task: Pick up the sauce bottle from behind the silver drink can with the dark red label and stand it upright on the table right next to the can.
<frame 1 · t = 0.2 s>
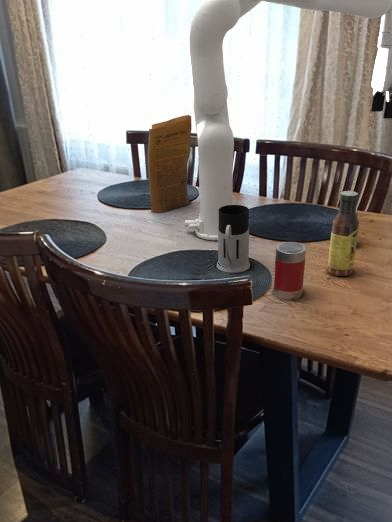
hand: (382, 114, 141), 31 cm above the table, tool pointing down, fingers open, 9 cm apart
sauce bottle: (339, 272, 134), on the table
can: (287, 293, 125), on the table
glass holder: (231, 270, 137), on the table
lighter: (347, 243, 149), on the table
pancake mix bag: (172, 207, 179), on the table
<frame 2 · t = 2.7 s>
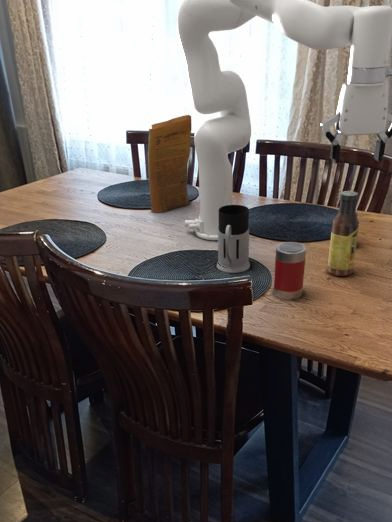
hand: (356, 161, 120), 27 cm above the table, tool pointing down, fingers open, 9 cm apart
nothing on the table moved.
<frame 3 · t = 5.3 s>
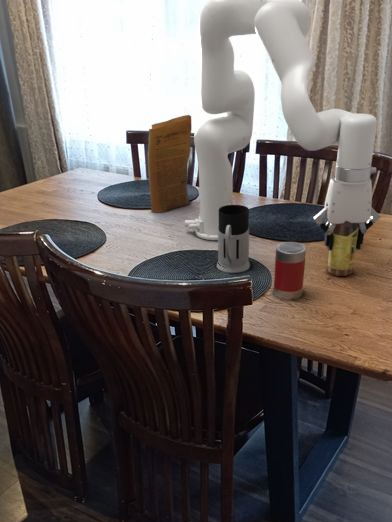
hand: (342, 247, 130), 7 cm above the table, tool pointing down, fingers closed on sauce bottle, 6 cm apart
sauce bottle: (339, 272, 134), on the table, touching gripper
everything else where it was.
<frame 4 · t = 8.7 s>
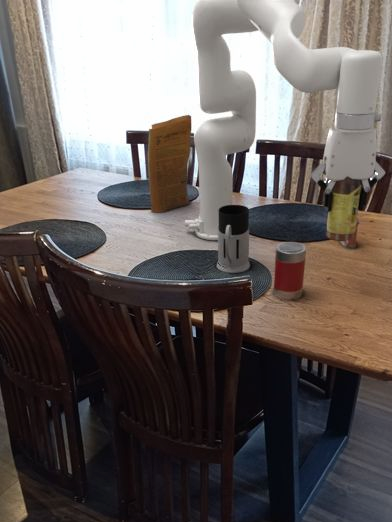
hand: (343, 208, 116), 19 cm above the table, tool pointing down, fingers closed on sauce bottle, 6 cm apart
sauce bottle: (339, 238, 120), point 13 cm above the table, touching gripper
everything else where it was.
when the fingers open (7 cm above the table, at t = 11.9 s): sauce bottle stays where it is, on the table.
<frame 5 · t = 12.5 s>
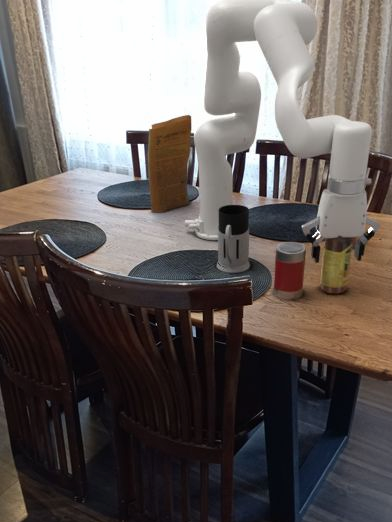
hand: (336, 259, 122), 8 cm above the table, tool pointing down, fingers open, 9 cm apart
sauce bottle: (332, 289, 126), on the table
everything else where it was.
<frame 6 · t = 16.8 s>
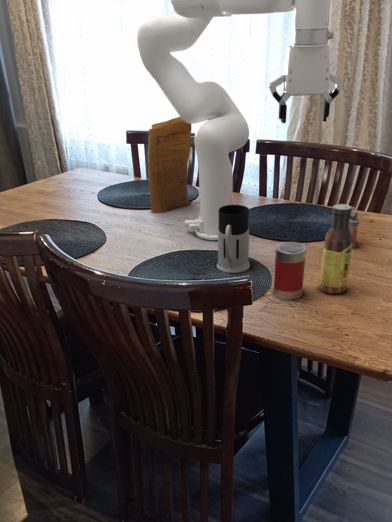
hand: (303, 121, 127), 33 cm above the table, tool pointing down, fingers open, 9 cm apart
nothing on the table moved.
at the end: sauce bottle 11.0 cm from the can (horizontally); sauce bottle tilted 0°; can moved 0.0 cm from its start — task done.
